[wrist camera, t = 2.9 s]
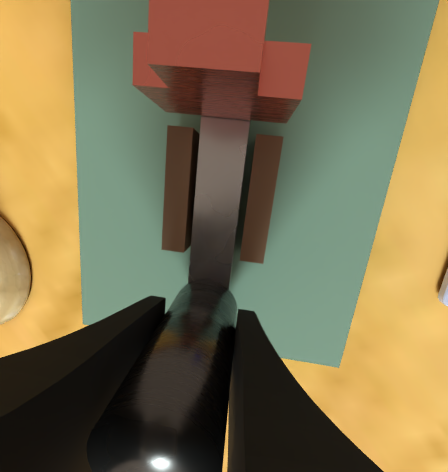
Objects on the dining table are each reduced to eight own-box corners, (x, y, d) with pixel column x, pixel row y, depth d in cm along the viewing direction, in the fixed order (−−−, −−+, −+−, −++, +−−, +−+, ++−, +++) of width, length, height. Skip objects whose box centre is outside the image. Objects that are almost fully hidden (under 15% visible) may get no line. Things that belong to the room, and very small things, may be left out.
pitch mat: (489, -248, 8) (523, -310, 7) (332, 353, 13) (339, 367, 12) (80, -239, 9) (59, -291, 8) (94, 314, 14) (82, 324, 13)
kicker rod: (287, 95, 9) (395, -151, 2) (250, 329, 12) (251, 539, 5) (178, 86, 10) (-3, -152, 3) (165, 315, 12) (54, 493, 5)
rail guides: (279, 142, 10) (283, 136, 9) (261, 253, 11) (263, 264, 10) (178, 132, 10) (167, 125, 9) (171, 241, 12) (161, 249, 10)
